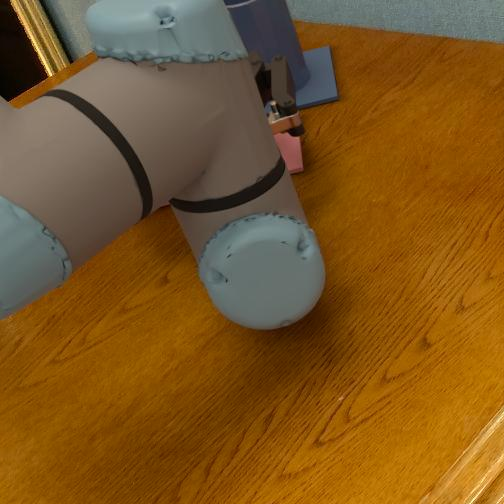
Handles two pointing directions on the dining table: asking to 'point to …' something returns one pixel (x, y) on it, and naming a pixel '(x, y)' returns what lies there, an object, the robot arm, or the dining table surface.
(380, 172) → the dining table surface
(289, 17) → the blue cup
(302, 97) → the blue mat
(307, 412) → the dining table surface
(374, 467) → the dining table surface
